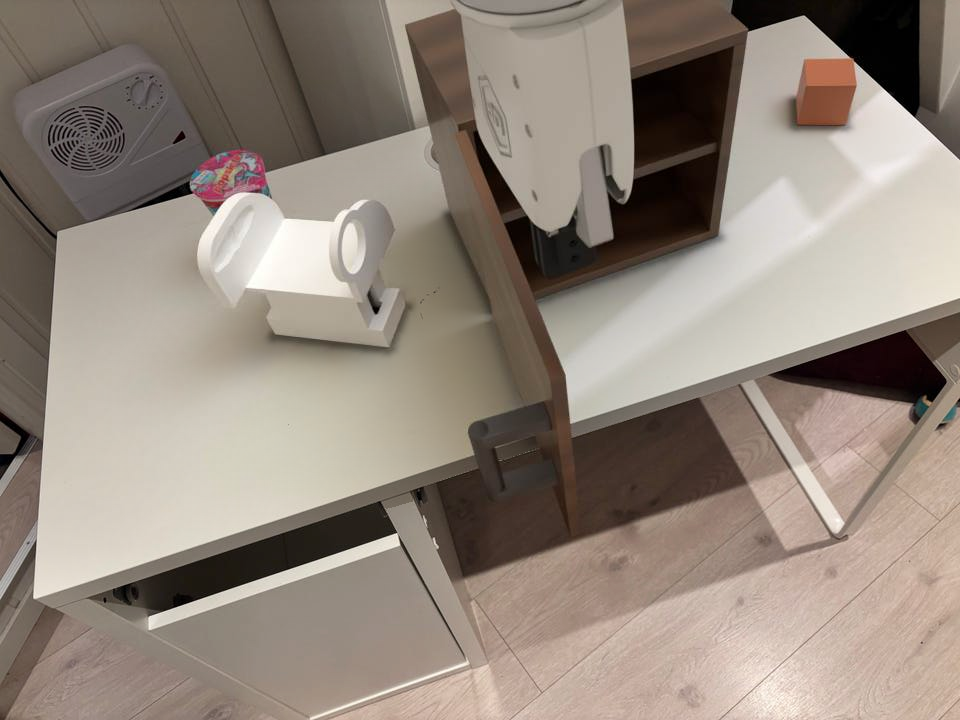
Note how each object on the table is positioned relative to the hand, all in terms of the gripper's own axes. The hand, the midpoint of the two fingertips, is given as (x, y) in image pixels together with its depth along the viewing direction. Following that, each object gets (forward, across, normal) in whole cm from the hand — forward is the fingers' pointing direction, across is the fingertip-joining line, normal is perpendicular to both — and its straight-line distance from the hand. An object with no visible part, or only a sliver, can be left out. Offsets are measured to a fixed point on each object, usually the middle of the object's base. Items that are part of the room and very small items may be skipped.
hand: (566, 263), depth 44 cm
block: (+30, -35, +48) cm, 66 cm away
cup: (+29, -46, -22) cm, 58 cm away
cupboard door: (+29, -9, -5) cm, 31 cm away
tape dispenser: (+29, -30, -17) cm, 45 cm away
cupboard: (+29, -32, +13) cm, 45 cm away
